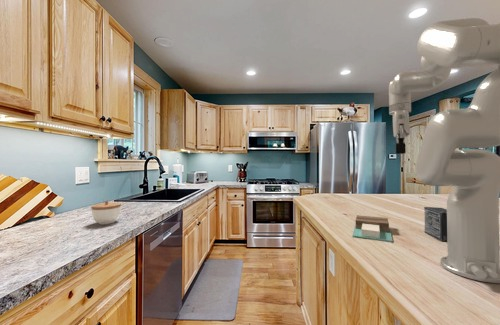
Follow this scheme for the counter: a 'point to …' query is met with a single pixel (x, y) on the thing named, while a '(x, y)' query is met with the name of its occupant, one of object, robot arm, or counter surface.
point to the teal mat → (383, 237)
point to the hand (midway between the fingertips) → (400, 153)
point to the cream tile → (370, 230)
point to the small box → (436, 222)
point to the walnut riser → (373, 222)
